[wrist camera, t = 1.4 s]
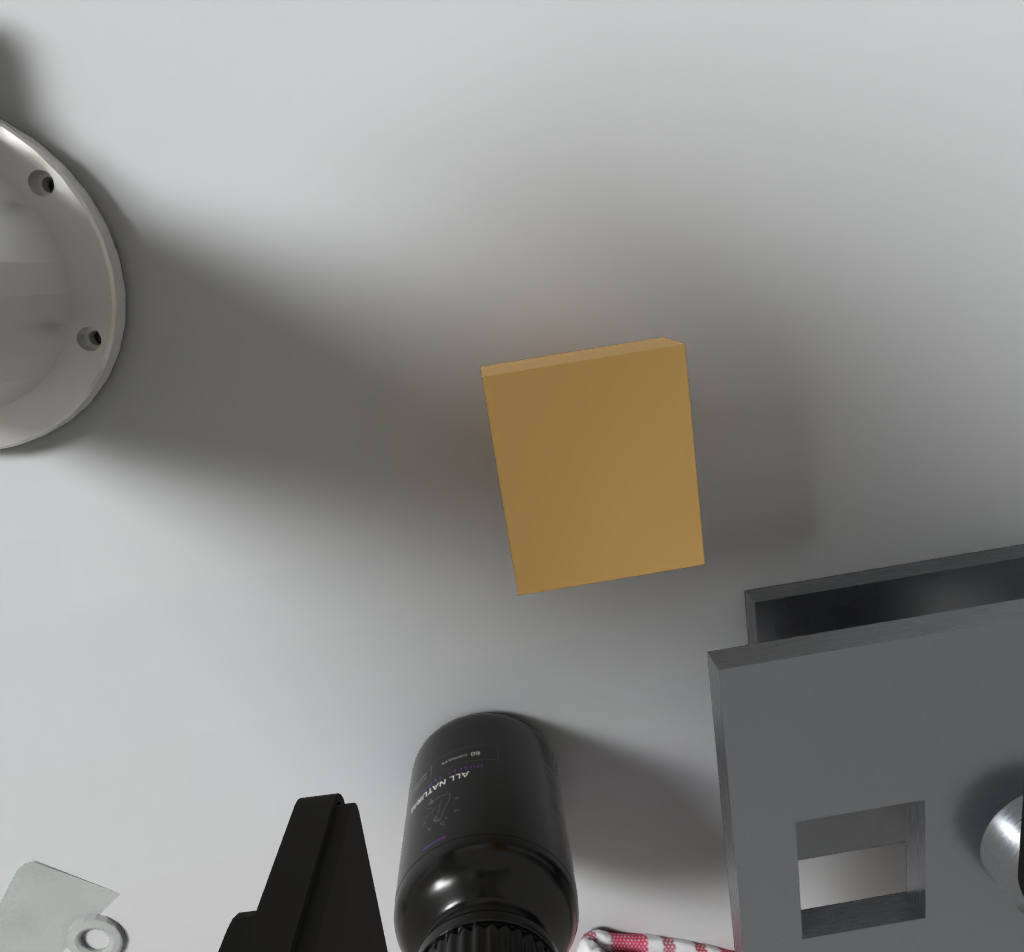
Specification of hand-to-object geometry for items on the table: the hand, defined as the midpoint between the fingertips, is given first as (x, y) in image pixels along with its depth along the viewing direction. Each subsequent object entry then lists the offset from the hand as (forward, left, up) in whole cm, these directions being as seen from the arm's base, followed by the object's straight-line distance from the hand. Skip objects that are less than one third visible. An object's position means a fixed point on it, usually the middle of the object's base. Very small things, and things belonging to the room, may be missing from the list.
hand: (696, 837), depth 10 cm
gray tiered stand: (+15, +15, -22) cm, 30 cm away
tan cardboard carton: (-1, +1, -22) cm, 22 cm away
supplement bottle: (+15, -5, -22) cm, 27 cm away
